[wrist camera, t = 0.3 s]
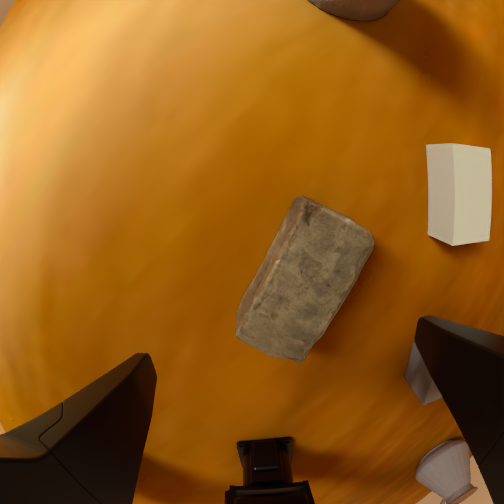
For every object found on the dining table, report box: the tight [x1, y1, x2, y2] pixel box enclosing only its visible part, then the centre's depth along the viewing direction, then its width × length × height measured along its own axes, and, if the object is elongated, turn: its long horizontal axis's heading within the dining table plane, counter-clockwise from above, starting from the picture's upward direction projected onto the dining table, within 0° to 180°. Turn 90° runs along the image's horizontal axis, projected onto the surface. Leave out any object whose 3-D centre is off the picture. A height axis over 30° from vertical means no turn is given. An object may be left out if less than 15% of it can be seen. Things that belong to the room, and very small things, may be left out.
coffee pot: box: [416, 440, 478, 504], centre depth 28 cm, size 21×12×15 cm, turn 169°
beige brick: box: [426, 143, 492, 246], centre depth 19 cm, size 8×5×4 cm, turn 6°
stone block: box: [235, 196, 374, 363], centre depth 20 cm, size 6×12×5 cm, turn 155°
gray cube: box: [404, 342, 443, 405], centre depth 24 cm, size 5×5×5 cm
